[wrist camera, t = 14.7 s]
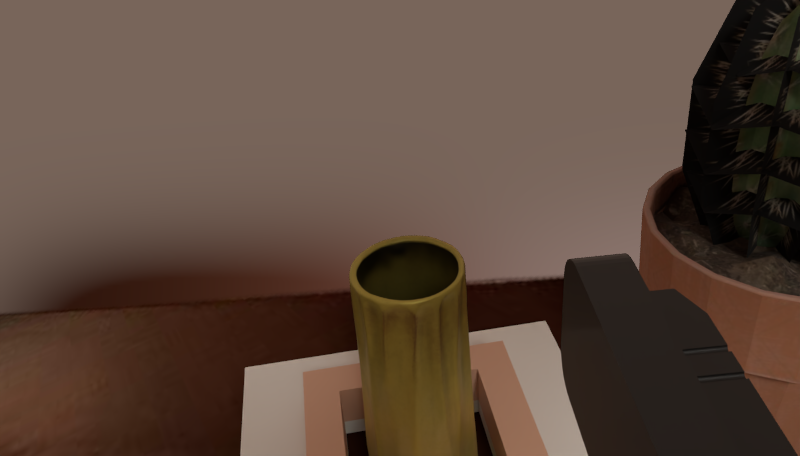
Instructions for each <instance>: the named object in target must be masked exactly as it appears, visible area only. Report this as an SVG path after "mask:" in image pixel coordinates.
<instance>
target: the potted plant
mask: <svg viewBox="0 0 800 456" xmlns="http://www.w3.org/2000/svg"><path fill="white" fill-rule="evenodd" d="M685 131H686V141H685V149H684V157H683V164H682V166H681V167H679V168H676V169H674V170H671V171H669V172H667V173H666V174H665V175H664V176H662V177H661V178H660V179H659V180H658V181H657V182H656V183H655V184H654V185H652V186H651V187H650V188H649V190H648V193H647V196H646V200H645V203H644V206H643V213H642V230H641V248H640V266H639V273H640V275H641V276H642V278H643V280H644V282H645V284H646V285H647V287H648V289H649V291H654V290H664V289H676V290H677V291H678V292H680V293H681V294H682V295H684V296H685V297H686V298H688V299H689V300H690V301H692V302H693V303H694V304H696V305H697V306H698V307H700V308H701V309H702V310H704V311H705V312H706V313H708V315H709V316H710V318H711V320H712V321H713V323H714V324H715V326H716V327H717V329H718V331H719V332H720V334H721V335H722V337H723V338H724V340H725V342H726V343H727V345H728V351H732V353H733V354H734V356H735V357H736V359H737V360H738V362H739V364H740V365H741V367H742V368H743V370H744V371H745V372H744V374H745V378H746V379H748V378H749V379H750V381H751V382H752V384H753V386H754V387H755V389H756V390H757V392H758V393H759V395H760V397H761V398H762V400H763V401H764V403H765V404H766V406H767V408H768V409H769V411H770V412H771V414H772V415H773V417H774V419H775V420H776V422H777V423H778V425H779V426H780V428H781V430H782V431H783V433H784V434H785V436H786V437H787V439H788V441H789V442H790V444H791V445H792V447H793V449H794V450H795V452H796V453H797V455H798V456H800V0H736V1H735V3H734V5H733V7H732V9H731V10H730V12H729V14H728V16H727V18H726V19H725V21H724V23H723V25H722V27H721V29H720V31H719V32H718V35H717V36H716V38H715V40H714V42H713V43H712V45H711V47H710V49H709V51H708V53H707V55H706V56H705V59H704V60H703V62H702V64H701V66H700V67H699V69H698V71H697V73H696V75H695V77H694V78H693V85H692V93H691V101H690V109H689V117H688V125H687V130H685Z"/></svg>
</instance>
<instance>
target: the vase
mask: <svg viewBox="0 0 800 456" xmlns="http://www.w3.org/2000/svg"><path fill="white" fill-rule="evenodd" d="M349 280H350V291H351V299H352V308H353V315H354V322H355V328H356V336H357V345H358V354H359V362H360V370H361V380H362V393H363V404H364V416H365V429H366V441H367V448H368V454H369V456H478V451H477V438H476V427H475V417H474V402H473V388H472V375H471V359H470V345H469V330H468V314H467V289H466V275H465V263H464V260H463V258H462V256H461V254H460V253H459V252H458V251H457V249H456V248H454V247H453V246H452V245H450V244H448V243H446V242H443V241H441V240H438V239H436V238H432V237H427V236H400V237H395V238H391V239H387V240H383V241H381V242H379V243H376V244H374V245H372V246H371V247H369V248H367V249H366V250H365V251H363V252H362V253H361V254H359V255H358V256H357V258H356V259H355V260H354V261H353V263H352V265H351V268H350V274H349Z"/></svg>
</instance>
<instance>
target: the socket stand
mask: <svg viewBox="0 0 800 456" xmlns="http://www.w3.org/2000/svg"><path fill="white" fill-rule="evenodd" d="M469 345H470V359H471V375H472V388H473V402H474V412H479V414H480V417H481V420H482V423H483V426H484V429H485V432H486V436H487V439H488V442H489V445H490V448H491V451H492V455H493V456H588V454H587V451H586V448H585V445H584V442H583V439H582V436H581V433H580V430H579V427H578V424H577V421H576V418H575V415H574V412H573V409H572V406H571V403H570V400H569V397H568V394H567V390H566V386H565V382H564V376H563V370H562V360H561V351H560V349H559V347H558V345H557V343H556V341H555V339H554V337H553V335H552V333H551V331H550V329H549V327H548V325H547V323H546V321H540V322H534V323H527V324H521V325H515V326H508V327H502V328H495V329H489V330H483V331H476V332H470V333H469ZM365 430H366V429H365V416H364V404H363V393H362V380H361V370H360V362H359V354H358V350H354V351H348V352H342V353H335V354H329V355H322V356H316V357H310V358H303V359H297V360H290V361H284V362H278V363H271V364H265V365H258V366H252V367H246V368H245V380H244V398H243V416H242V434H241V452H240V456H349V453H348V443H347V433H353V432H359V431H365Z"/></svg>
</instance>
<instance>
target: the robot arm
mask: <svg viewBox="0 0 800 456" xmlns="http://www.w3.org/2000/svg"><path fill="white" fill-rule="evenodd" d="M561 360H562V370H563V376H564V382H565V386H566V390H567V394H568V397H569V400H570V403H571V406H572V409H573V412H574V415H575V418H576V421H577V424H578V427H579V430H580V433H581V436H582V439H583V442H584V445H585V448H586V451H587V454H588V456H798V455H797V453H796V452H795V450H794V449H793V447H792V445H791V444H790V442H789V441H788V439H787V437H786V436H785V434H784V433H783V431H782V430H781V428H780V426H779V425H778V423H777V422H776V420H775V419H774V417H773V415H772V414H771V412H770V411H769V409H768V408H767V406H766V404H765V403H764V401H763V400H762V398H761V397H760V395H759V393H758V392H757V390H756V389H755V387H754V386H753V384H752V382H751V381H750V379H749V378H748V379H746V378H745V374H744V372H745V371H744V370H743V368H742V367H741V365H740V364H739V362H738V360H737V359H736V357H735V356H734V354H733V353H732V351H728V345H727V343H726V342H725V340H724V338H723V337H722V335H721V334H720V332H719V331H718V329H717V327H716V326H715V324H714V323H713V321H712V320H711V318H710V316H709V315H708V313H706V312H705V311H704V310H702V309H701V308H700V307H698V306H697V305H696V304H694V303H693V302H692V301H690V300H689V299H688V298H686V297H685V296H684V295H682V294H681V293H680V292H678V291H677V290H676V289H664V290H654V291H649V289H648V287H647V285H646V284H645V282H644V280H643V278H642V276H641V275H640V273H639V271H638V269H637V267H636V266H635V264H634V262H633V260H632V259H631V257H630V256H629V255H628V254H615V255H605V256H595V257H586V258H575V259H569V260H567V262H566V265H565V272H564V290H563V313H562V335H561Z"/></svg>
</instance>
